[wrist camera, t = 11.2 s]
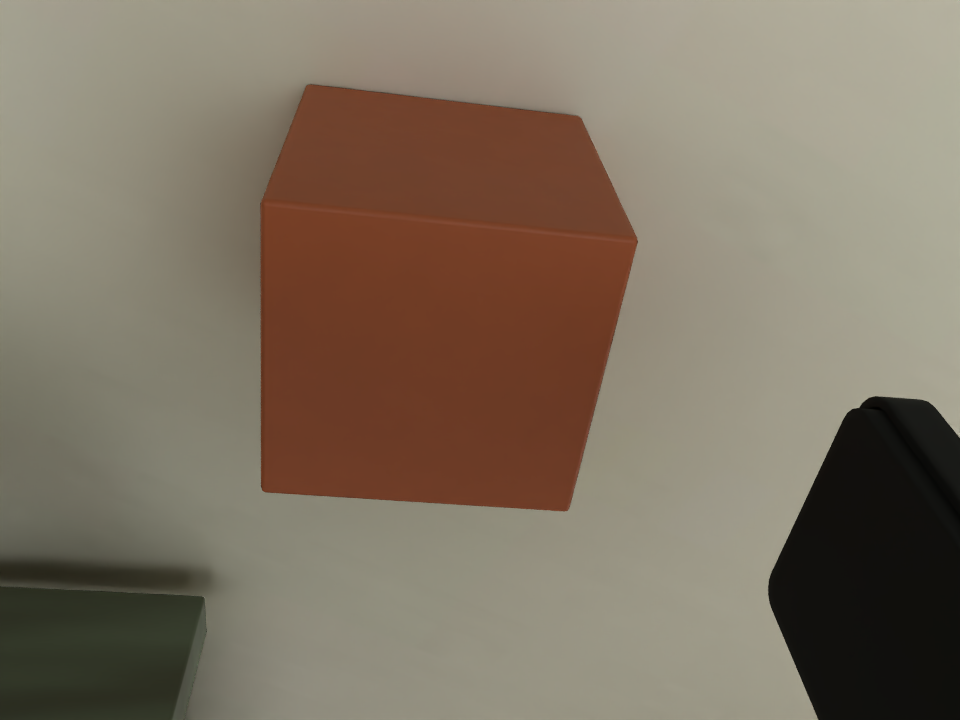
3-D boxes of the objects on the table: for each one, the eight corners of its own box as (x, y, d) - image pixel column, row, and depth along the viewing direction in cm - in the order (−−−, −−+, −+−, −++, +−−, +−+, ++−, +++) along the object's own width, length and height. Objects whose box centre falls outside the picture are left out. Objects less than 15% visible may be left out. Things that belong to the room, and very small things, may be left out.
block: (305, 82, 14) (259, 199, 10) (581, 115, 15) (640, 238, 11) (299, 323, 17) (260, 494, 13) (535, 344, 17) (569, 513, 13)
